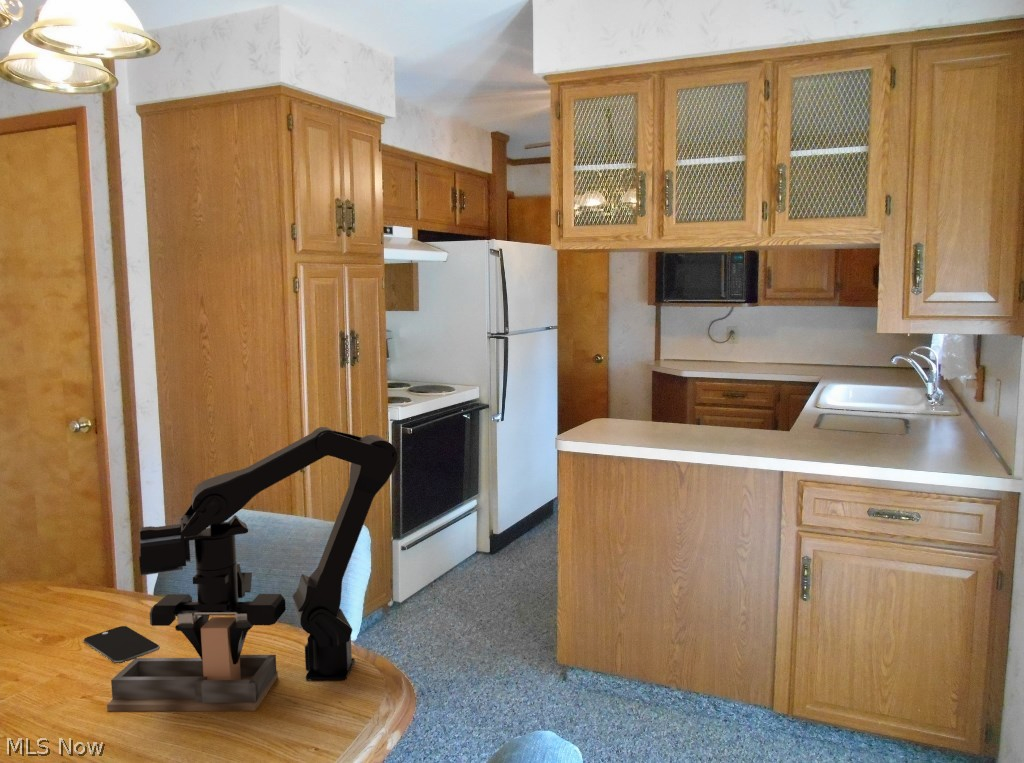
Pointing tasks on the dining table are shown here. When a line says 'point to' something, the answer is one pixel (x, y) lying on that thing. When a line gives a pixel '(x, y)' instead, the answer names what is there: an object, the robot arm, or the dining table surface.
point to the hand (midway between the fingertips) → (221, 663)
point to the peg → (218, 650)
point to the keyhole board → (190, 685)
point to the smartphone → (121, 644)
